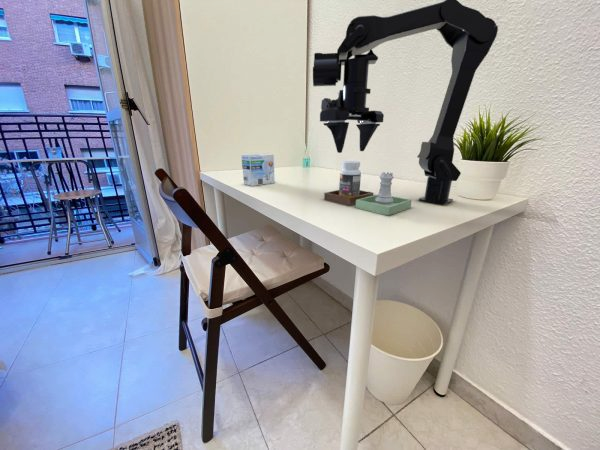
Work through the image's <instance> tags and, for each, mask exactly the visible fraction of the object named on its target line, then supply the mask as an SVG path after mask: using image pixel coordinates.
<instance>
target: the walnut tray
mask: <svg viewBox="0 0 600 450" xmlns="http://www.w3.org/2000/svg"><path fill="white" fill-rule="evenodd" d="M323 194H324V196H323V197H324V198H323V200H324V201H327V202H331V203H336V204H340V205H344V206H348V207H351V206H356V200H357V199H361V198H365V197H369V196H373V195H374V192H372V191H366V190H361V189H360V193H359V196H355V197H351V198H348V197H344V196H339V189H336V190H331V191H327V192H324V193H323Z"/></svg>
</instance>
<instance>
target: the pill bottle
mask: <svg viewBox="0 0 600 450" xmlns="http://www.w3.org/2000/svg"><path fill="white" fill-rule="evenodd" d="M341 166H342V169H341V170H340V172H339V184H338V185H339V186H338V190H339V196H344V197H348V198H351V197H355V196H359V193H360V190H361V179H362V172H361V170H360V167H361V162H360V161H357V160H356V161H355V160H344V161H342V162H341Z"/></svg>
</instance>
